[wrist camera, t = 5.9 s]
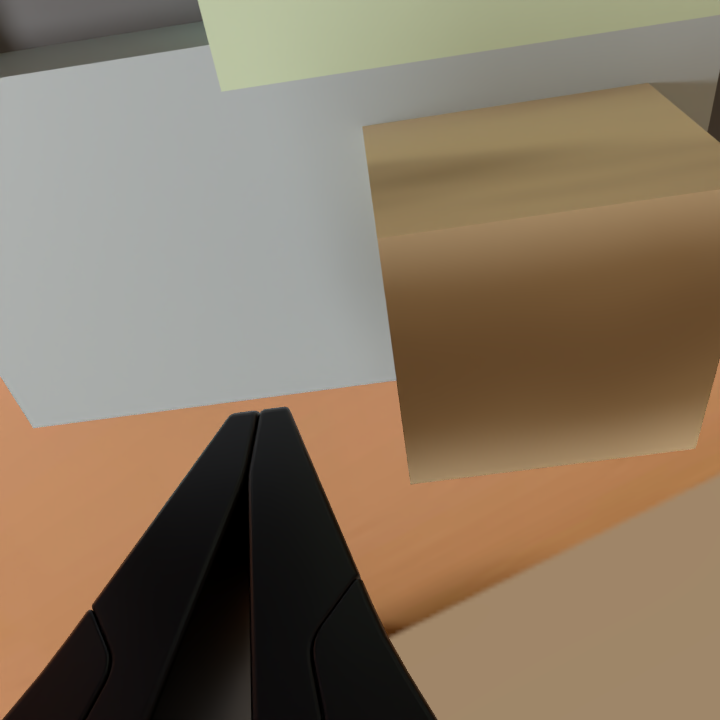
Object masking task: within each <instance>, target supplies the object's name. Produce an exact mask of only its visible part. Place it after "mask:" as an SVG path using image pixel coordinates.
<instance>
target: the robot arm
mask: <svg viewBox="0 0 720 720" xmlns="http://www.w3.org/2000/svg"><path fill="white" fill-rule="evenodd" d="M92 609H93V610H88V611H87V612H86V614H85V615H84V616H83V618H82V619H81V621H80V622H79V623H78V625H77V626H76V627H75V629H74V630H73V632H72V633H71V634H70V636H69V637H68V638H67V640H66V641H65V642H64V644H63V645H62V646H61V648H60V649H59V650H58V651H57V653H56V654H55V655H54V657H53V658H52V659H51V661H50V662H49V663H48V665H47V666H46V667H45V669H44V670H43V671H42V673H41V674H40V675H39V676H38V677H37V679H36V680H35V681H34V682H33V683H32V685H31V686H30V687H29V688H28V689H27V691H26V692H25V693H24V694H23V695H22V697H21V698H20V699H19V700H18V701H17V703H16V704H15V705H14V706H13V707H12V709H11V710H10V711H9V712H8V713H7V715H6V716H5V717H4V718H3V719H2V720H437V718H436V717H435V715H434V713H433V712H432V710H431V709H430V707H429V705H428V704H427V702H426V700H425V699H424V697H423V695H422V694H421V692H420V691H419V689H418V687H417V686H416V684H415V682H414V681H413V679H412V678H411V676H410V674H409V673H408V671H407V669H406V667H405V666H404V664H403V662H402V660H401V659H400V657H399V655H398V654H397V652H396V650H395V648H394V646H393V645H392V643H391V641H390V639H389V637H388V635H387V633H386V631H385V629H384V627H383V625H382V623H381V621H380V619H379V616H378V614H377V612H376V610H375V608H374V606H373V604H372V601H371V599H370V597H369V594H368V592H367V590H366V587H365V585H364V583H363V581H362V580H361V577H360V574H359V572H358V569H357V567H356V564H355V562H354V560H353V557H352V555H351V553H350V550H349V548H348V546H347V543H346V541H345V539H344V536H343V534H342V532H341V529H340V527H339V525H338V522H337V520H336V517H335V515H334V513H333V510H332V508H331V506H330V503H329V501H328V499H327V496H326V494H325V492H324V489H323V487H322V485H321V482H320V480H319V477H318V475H317V473H316V470H315V468H314V466H313V463H312V461H311V459H310V456H309V454H308V452H307V449H306V447H305V445H304V442H303V440H302V437H301V435H300V433H299V430H298V428H297V426H296V423H295V421H294V419H293V416H292V414H291V412H290V410H289V409H288V408H287V407H279V408H271V409H264V410H263V411H261V412H260V413H259V412H257V411H248V412H240V413H234V414H232V415H230V416H229V417H228V418H227V420H226V421H225V422H224V424H223V425H222V427H221V428H220V429H219V431H218V432H217V434H216V435H215V436H214V438H213V439H212V440H211V442H210V443H209V445H208V446H207V447H206V449H205V450H204V451H203V453H202V454H201V456H200V457H199V458H198V460H197V461H196V462H195V464H194V465H193V467H192V468H191V469H190V471H189V472H188V473H187V475H186V476H185V478H184V479H183V480H182V482H181V483H180V485H179V486H178V487H177V489H176V490H175V491H174V493H173V494H172V496H171V497H170V498H169V500H168V501H167V502H166V504H165V505H164V507H163V508H162V509H161V511H160V512H159V513H158V515H157V516H156V518H155V519H154V520H153V522H152V523H151V524H150V526H149V527H148V529H147V530H146V531H145V533H144V534H143V536H142V537H141V538H140V540H139V541H138V542H137V544H136V545H135V547H134V548H133V549H132V551H131V552H130V553H129V555H128V556H127V558H126V559H125V560H124V562H123V563H122V564H121V566H120V567H119V569H118V570H117V571H116V573H115V574H114V576H113V577H112V578H111V580H110V581H109V582H108V584H107V585H106V587H105V588H104V589H103V591H102V592H101V593H100V595H99V596H98V598H97V599H96V600H95V602H94V603H93V605H92Z"/></svg>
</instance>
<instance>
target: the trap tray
mask: <svg viewBox="0 0 720 720" xmlns="http://www.w3.org/2000/svg"><path fill="white" fill-rule="evenodd" d="M643 83H649V84H650V85H651V86H653V87H654V88H655V89H656V90H657V91H659V92H660V93H661V94H662V95H663V96H665V97H666V98H667V99H668V100H669V101H671V102H672V103H673V104H674V105H675V106H677V107H678V108H679V109H680V110H681V111H683V112H684V113H685V114H686V115H687V116H689V117H690V118H691V119H692V120H693V121H694V122H696V123H697V124H698V125H699V126H700V127H702V128H703V129H704V130H705V131H706V132H708V133H709V134H710V135H711V136H712V137H714V138H715V139H716V140H717V141H718V142H720V0H0V376H1V378H2V380H3V381H4V383H5V384H6V386H7V387H8V389H9V391H10V392H11V394H12V395H13V397H14V398H15V400H16V402H17V403H18V405H19V406H20V408H21V409H22V411H23V413H24V414H25V416H26V417H27V419H28V420H29V422H30V424H31V425H32V427H33V428H38V427H45V426H53V425H61V424H68V423H76V422H83V421H91V420H99V419H106V418H114V417H121V416H129V415H137V414H144V413H152V412H160V411H167V410H175V409H182V408H190V407H198V406H205V405H213V404H220V403H228V402H236V401H243V400H251V399H259V398H266V397H274V396H281V395H289V394H297V393H304V392H312V391H319V390H327V389H335V388H342V387H350V386H357V385H365V384H373V383H380V382H388V381H396V373H395V366H394V358H393V351H392V344H391V336H390V329H389V321H388V314H387V307H386V299H385V292H384V285H383V277H382V270H381V262H380V255H379V248H378V240H377V233H376V226H375V218H374V211H373V203H372V196H371V188H370V181H369V174H368V166H367V159H366V151H365V144H364V137H363V129H362V126H369V125H375V124H382V123H389V122H395V121H402V120H408V119H415V118H421V117H428V116H434V115H441V114H447V113H454V112H460V111H467V110H473V109H480V108H487V107H493V106H500V105H506V104H513V103H519V102H526V101H532V100H539V99H545V98H552V97H558V96H565V95H572V94H578V93H585V92H591V91H598V90H604V89H611V88H617V87H624V86H630V85H637V84H643Z"/></svg>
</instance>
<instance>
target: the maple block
mask: <svg viewBox="0 0 720 720" xmlns="http://www.w3.org/2000/svg"><path fill="white" fill-rule="evenodd" d="M362 129H363V137H364V144H365V151H366V159H367V166H368V174H369V181H370V188H371V196H372V203H373V211H374V218H375V226H376V233H377V240H378V248H379V255H380V262H381V270H382V277H383V285H384V292H385V299H386V307H387V314H388V321H389V329H390V336H391V344H392V351H393V358H394V366H395V373H396V380H397V388H398V395H399V403H400V410H401V417H402V425H403V432H404V439H405V447H406V454H407V462H408V469H409V476H410V484H418V483H426V482H433V481H441V480H449V479H457V478H465V477H473V476H481V475H489V474H497V473H505V472H513V471H521V470H529V469H537V468H545V467H553V466H561V465H569V464H577V463H585V462H593V461H601V460H609V459H617V458H625V457H633V456H641V455H649V454H657V453H665V452H673V451H681V450H688V449H695V448H696V444H697V441H698V437H699V433H700V430H701V426H702V422H703V419H704V415H705V411H706V407H707V404H708V400H709V396H710V393H711V389H712V385H713V382H714V378H715V374H716V370H717V367H718V363H719V359H720V142H718V141H717V140H716V139H715V138H714V137H712V136H711V135H710V134H709V133H708V132H706V131H705V130H704V129H703V128H702V127H700V126H699V125H698V124H697V123H696V122H694V121H693V120H692V119H691V118H690V117H689V116H687V115H686V114H685V113H684V112H683V111H681V110H680V109H679V108H678V107H677V106H675V105H674V104H673V103H672V102H671V101H669V100H668V99H667V98H666V97H665V96H663V95H662V94H661V93H660V92H659V91H657V90H656V89H655V88H654V87H653V86H651V85H650V84H649V83H643V84H637V85H630V86H624V87H617V88H611V89H604V90H598V91H591V92H585V93H578V94H572V95H565V96H558V97H552V98H545V99H539V100H532V101H526V102H519V103H513V104H506V105H500V106H493V107H487V108H480V109H473V110H467V111H460V112H454V113H447V114H441V115H434V116H428V117H421V118H415V119H408V120H402V121H395V122H389V123H382V124H375V125H369V126H362Z"/></svg>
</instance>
